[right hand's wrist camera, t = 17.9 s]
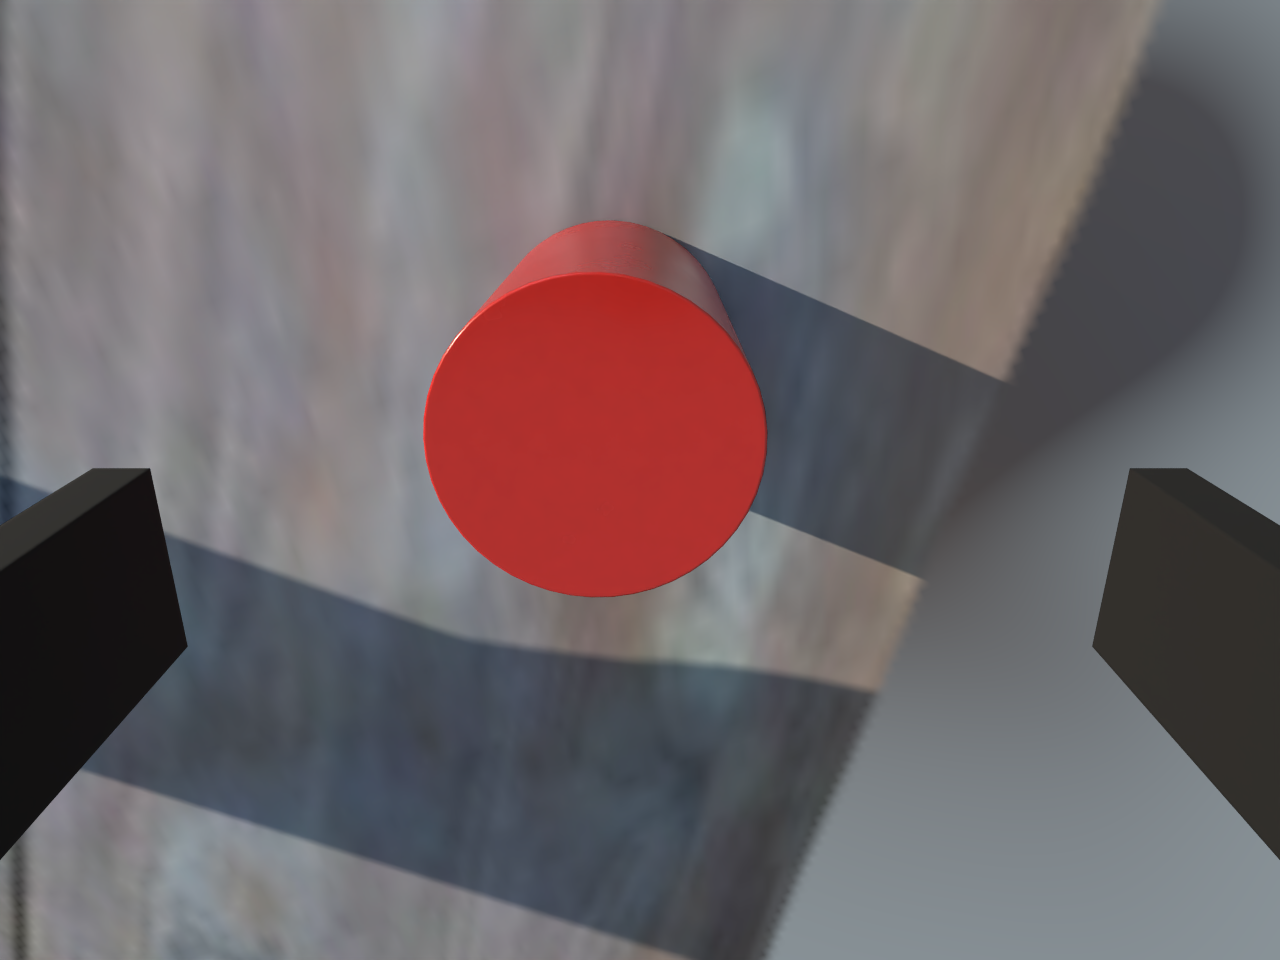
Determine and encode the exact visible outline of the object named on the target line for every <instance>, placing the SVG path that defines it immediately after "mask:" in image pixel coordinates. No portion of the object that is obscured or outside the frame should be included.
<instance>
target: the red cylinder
mask: <svg viewBox="0 0 1280 960" xmlns="http://www.w3.org/2000/svg"><path fill="white" fill-rule="evenodd" d="M423 440H424V449H425V457H426V462H427V466H428V470H429V474H430V478H431V481H432V484H433V486H434V489H435V491H436V494H437V496H438V498H439V501H440V502H441V504H442V506H443V508H444V509H445V511H446V513H447V515H448V516H449V518H450V520H451V521H452V522H453V524H454V525H455V526H456V528H457V529H458V530H459V532H460V533H461V534H462V536H463V537H464V538H465V539H466V540H467V541H468V542H469V543H470V544H471V545H472V546H473V547H474V548H475V549H476V550H477V551H478V552H479V553H481V554H482V555H483V556H484V557H486V558H487V559H488V560H489V561H490V562H492V563H493V564H494V565H496V566H498V567H499V568H501V569H502V570H504V571H506V572H507V573H509V574H510V575H512V576H514V577H516V578H518V579H521V580H523V581H525V582H527V583H529V584H531V585H534V586H537V587H540V588H543V589H546V590H549V591H553V592H558V593H563V594H567V595H574V596H584V597H615V596H622V595H630V594H635V593H639V592H643V591H647V590H651V589H654V588H657V587H659V586H662V585H664V584H667V583H670V582H672V581H674V580H676V579H678V578H680V577H682V576H683V575H685V574H687V573H689V572H691V571H692V570H694V569H695V568H697V567H698V566H699V565H701V564H702V563H704V562H705V561H707V560H708V559H709V558H710V557H711V556H712V555H713V554H715V553H716V552H717V551H718V550H719V549H720V548H721V547H722V546H723V545H724V544H725V543H726V542H727V541H728V539H729V538H730V537H731V536H732V535H733V534H734V532H735V531H736V530H737V529H738V527H739V525H740V524H741V522H742V521H743V519H744V518H745V516H746V515H747V513H748V511H749V509H750V507H751V505H752V503H753V501H754V499H755V497H756V494H757V492H758V488H759V485H760V482H761V479H762V476H763V472H764V466H765V460H766V454H767V423H766V414H765V408H764V404H763V400H762V396H761V392H760V388H759V386H758V383H757V381H756V378H755V376H754V373H753V371H752V369H751V366H750V364H749V362H748V360H747V357H746V355H745V353H744V351H743V348H742V346H741V344H740V342H739V339H738V337H737V335H736V333H735V330H734V328H733V326H732V324H731V322H730V319H729V317H728V315H727V313H726V310H725V308H724V306H723V304H722V301H721V299H720V297H719V295H718V292H717V290H716V288H715V286H714V284H713V282H712V281H711V279H710V277H709V275H708V274H707V272H706V271H705V270H704V268H703V267H702V266H701V264H700V263H699V262H698V260H697V259H696V258H695V257H694V256H693V255H692V254H691V253H690V252H689V251H688V250H687V249H685V248H684V247H683V246H681V245H680V244H679V243H677V242H676V241H675V240H673V239H671V238H670V237H668V236H666V235H664V234H663V233H661V232H659V231H656V230H654V229H651V228H649V227H646V226H643V225H639V224H635V223H631V222H622V221H595V222H589V223H583V224H580V225H576V226H573V227H570V228H567V229H565V230H563V231H560V232H558V233H556V234H554V235H552V236H551V237H549V238H548V239H546V240H544V241H543V242H541V243H540V244H539V245H538V246H536V247H535V248H534V249H533V250H532V251H531V252H529V253H528V254H527V256H526V257H525V258H524V259H523V260H522V261H521V262H520V263H519V265H518V266H517V267H516V268H515V269H514V270H513V271H512V273H511V274H510V275H509V276H508V277H507V278H506V279H505V281H504V282H503V283H502V284H501V285H500V286H499V287H498V289H497V290H496V291H495V292H494V293H493V294H492V295H491V297H490V298H489V299H488V300H487V301H486V302H485V304H484V305H483V306H482V307H481V308H480V309H479V310H478V312H477V313H476V314H475V315H474V316H473V317H472V318H471V320H470V321H469V322H468V323H467V324H466V325H465V326H464V328H463V329H462V330H461V331H460V332H459V333H458V335H457V336H456V337H455V338H454V340H453V341H452V343H451V344H450V346H449V347H448V349H447V350H446V352H445V353H444V355H443V357H442V359H441V361H440V363H439V365H438V367H437V369H436V372H435V374H434V376H433V379H432V382H431V386H430V389H429V392H428V395H427V401H426V407H425V413H424V431H423Z"/></svg>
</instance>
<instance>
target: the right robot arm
mask: <svg viewBox="0 0 1280 960" xmlns="http://www.w3.org/2000/svg"><path fill="white" fill-rule="evenodd" d="M187 647H188V646H187V641H186V636H185V631H184V627H183V622H182V617H181V612H180V608H179V603H178V598H177V594H176V589H175V584H174V579H173V575H172V570H171V565H170V560H169V556H168V551H167V546H166V541H165V537H164V532H163V527H162V523H161V518H160V513H159V508H158V504H157V499H156V494H155V489H154V485H153V480H152V475H151V471H150V468H93V469H91V470H90V471H88V472H86V473H85V474H83V475H81V476H80V477H78V478H77V479H75V480H73V481H72V482H70V483H68V484H67V485H65V486H64V487H62V488H60V489H59V490H57V491H55V492H54V493H52V494H51V495H49V496H47V497H46V498H44V499H42V500H41V501H39V502H38V503H36V504H34V505H33V506H31V507H29V508H28V509H26V510H25V511H23V512H21V513H20V514H18V515H16V516H15V517H13V518H12V519H10V520H8V521H7V522H5V523H3V524H2V525H0V860H1V858H2V857H3V856H4V855H5V854H6V853H7V852H8V850H9V849H10V848H11V847H12V846H13V845H14V844H15V842H16V841H17V840H18V839H19V838H20V837H21V836H22V835H23V833H24V832H25V831H26V830H27V829H28V828H29V827H30V825H31V824H32V823H33V822H34V821H35V820H36V819H37V817H38V816H39V815H40V814H41V813H42V812H43V811H44V809H45V808H46V807H47V806H48V805H49V804H50V803H51V801H52V800H53V799H54V798H55V797H56V796H57V795H58V794H59V792H60V791H61V790H62V789H63V788H64V787H65V786H66V784H67V783H68V782H69V781H70V780H71V779H72V778H73V776H74V775H75V774H76V773H77V772H78V771H79V770H80V768H81V767H82V766H83V765H84V764H85V763H86V762H87V761H88V759H89V758H90V757H91V756H92V755H93V754H94V753H95V751H96V750H97V749H98V748H99V747H100V746H101V745H102V743H103V742H104V741H105V740H106V739H107V738H108V737H109V735H110V734H111V733H112V732H113V731H114V730H115V729H116V727H117V726H118V725H119V724H120V723H121V722H122V721H123V720H124V718H125V717H126V716H127V715H128V714H129V713H130V712H131V710H132V709H133V708H134V707H135V706H136V705H137V704H138V702H139V701H140V700H141V699H142V698H143V697H144V696H145V694H146V693H147V692H148V691H149V690H150V689H151V688H152V686H153V685H154V684H155V683H156V682H157V681H158V680H159V679H160V677H161V676H162V675H163V674H164V673H165V672H166V671H167V669H168V668H169V667H170V666H171V665H172V664H173V663H174V661H175V660H176V659H177V658H178V657H179V656H180V655H181V653H182V652H183V651H184V650H185V649H186V648H187ZM1093 648H1094V649H1095V650H1096V651H1097V652H1098V653H1099V655H1100V656H1101V657H1102V658H1103V659H1104V660H1105V661H1106V663H1107V664H1108V665H1109V666H1110V667H1111V668H1112V669H1113V671H1114V672H1115V673H1116V674H1117V675H1118V676H1119V677H1120V678H1121V680H1122V681H1123V682H1124V683H1125V684H1126V685H1127V686H1128V688H1129V689H1130V690H1131V691H1132V692H1133V693H1134V694H1135V696H1136V697H1137V698H1138V699H1139V700H1140V701H1141V702H1142V704H1143V705H1144V706H1145V707H1146V708H1147V709H1148V710H1149V712H1150V713H1151V714H1152V715H1153V716H1154V717H1155V718H1156V719H1157V721H1158V722H1159V723H1160V724H1161V725H1162V726H1163V727H1164V729H1165V730H1166V731H1167V732H1168V733H1169V734H1170V735H1171V737H1172V738H1173V739H1174V740H1175V741H1176V742H1177V743H1178V744H1179V746H1180V747H1181V748H1182V749H1183V750H1184V751H1185V753H1186V754H1187V755H1188V756H1189V757H1190V758H1191V759H1192V760H1193V762H1194V763H1195V764H1196V765H1197V766H1198V767H1199V768H1200V770H1201V771H1202V772H1203V773H1204V774H1205V775H1206V776H1207V778H1208V779H1209V780H1210V781H1211V782H1212V783H1213V784H1214V785H1215V787H1216V788H1217V789H1218V790H1219V791H1220V792H1221V794H1222V795H1223V796H1224V797H1225V798H1226V799H1227V800H1228V801H1229V803H1230V804H1231V805H1232V806H1233V807H1234V808H1235V809H1236V811H1237V812H1238V813H1239V814H1240V815H1241V816H1242V817H1243V819H1244V820H1245V821H1246V822H1247V823H1248V824H1249V825H1250V826H1251V828H1252V829H1253V830H1254V831H1255V832H1256V833H1257V834H1258V836H1259V837H1260V838H1261V839H1262V840H1263V841H1264V842H1265V844H1266V845H1267V846H1268V847H1269V848H1270V849H1271V850H1272V852H1273V853H1274V854H1275V855H1276V856H1277V857H1278V858H1279V860H1280V525H1278V524H1276V523H1275V522H1273V521H1272V520H1270V519H1268V518H1267V517H1265V516H1264V515H1262V514H1260V513H1259V512H1257V511H1255V510H1254V509H1252V508H1251V507H1249V506H1247V505H1246V504H1244V503H1242V502H1241V501H1239V500H1238V499H1236V498H1234V497H1233V496H1231V495H1229V494H1228V493H1226V492H1225V491H1223V490H1221V489H1220V488H1218V487H1216V486H1215V485H1213V484H1212V483H1210V482H1208V481H1207V480H1205V479H1203V478H1202V477H1200V476H1198V475H1197V474H1195V473H1194V472H1192V471H1190V470H1189V469H1187V468H1130V471H1129V475H1128V480H1127V485H1126V490H1125V494H1124V499H1123V504H1122V508H1121V513H1120V518H1119V523H1118V527H1117V532H1116V537H1115V541H1114V546H1113V551H1112V556H1111V560H1110V565H1109V570H1108V575H1107V579H1106V584H1105V589H1104V594H1103V598H1102V603H1101V608H1100V612H1099V617H1098V622H1097V627H1096V631H1095V636H1094V641H1093Z"/></svg>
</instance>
